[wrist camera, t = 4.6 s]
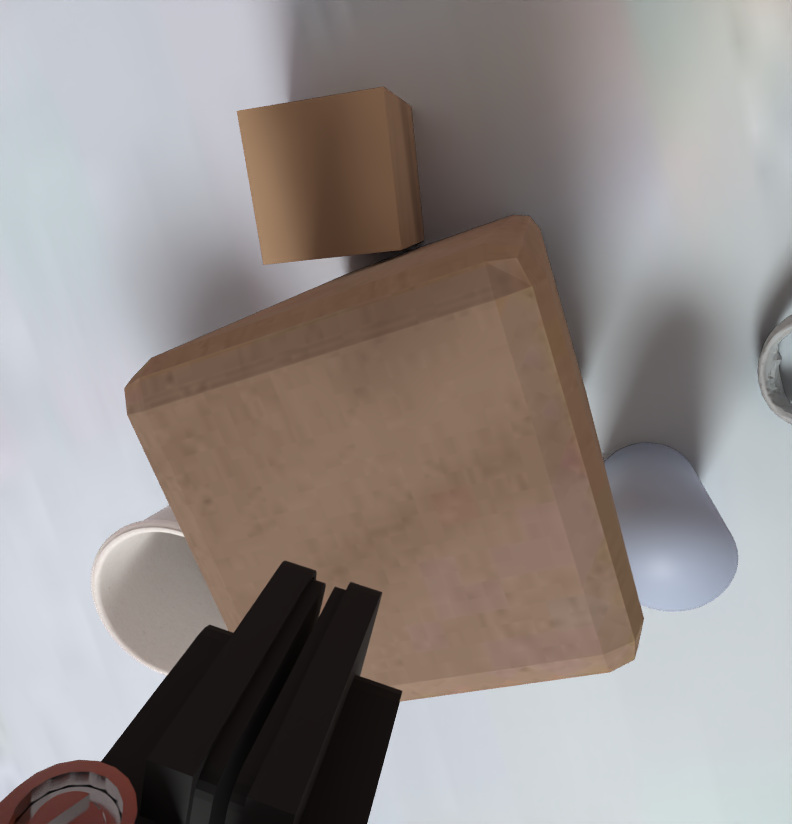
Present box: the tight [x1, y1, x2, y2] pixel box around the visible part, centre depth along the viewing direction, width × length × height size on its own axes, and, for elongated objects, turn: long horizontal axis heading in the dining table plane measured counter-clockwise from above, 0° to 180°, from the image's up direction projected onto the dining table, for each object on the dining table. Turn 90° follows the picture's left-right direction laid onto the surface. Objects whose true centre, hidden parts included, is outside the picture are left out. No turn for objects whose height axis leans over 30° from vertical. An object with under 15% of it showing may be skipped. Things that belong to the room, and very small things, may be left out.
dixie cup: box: [91, 505, 228, 675], centre depth 34 cm, size 8×8×10 cm
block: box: [124, 215, 644, 701], centre depth 23 cm, size 10×10×20 cm
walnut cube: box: [237, 87, 424, 265], centre depth 29 cm, size 6×6×6 cm
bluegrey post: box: [604, 443, 738, 612], centre depth 30 cm, size 5×5×7 cm
